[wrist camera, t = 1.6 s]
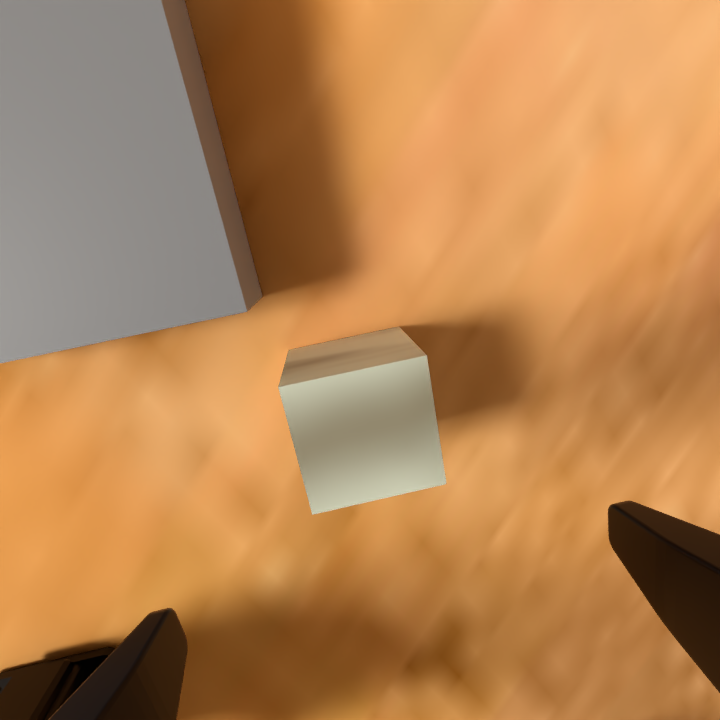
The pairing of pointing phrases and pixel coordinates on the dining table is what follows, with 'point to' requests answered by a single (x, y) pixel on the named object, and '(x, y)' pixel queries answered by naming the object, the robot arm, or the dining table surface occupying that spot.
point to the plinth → (111, 178)
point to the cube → (362, 419)
